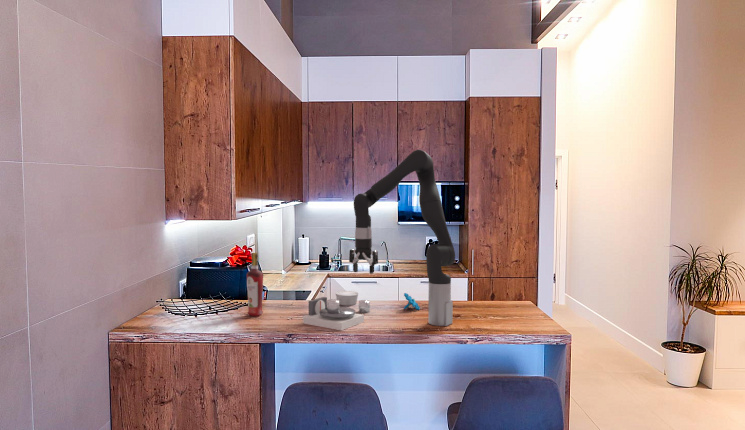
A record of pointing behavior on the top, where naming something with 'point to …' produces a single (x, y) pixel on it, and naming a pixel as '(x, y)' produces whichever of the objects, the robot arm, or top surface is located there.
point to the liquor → (255, 288)
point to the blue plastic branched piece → (411, 302)
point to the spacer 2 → (364, 306)
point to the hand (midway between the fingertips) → (363, 272)
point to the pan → (342, 313)
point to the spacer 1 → (333, 306)
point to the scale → (327, 322)
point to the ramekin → (347, 297)
